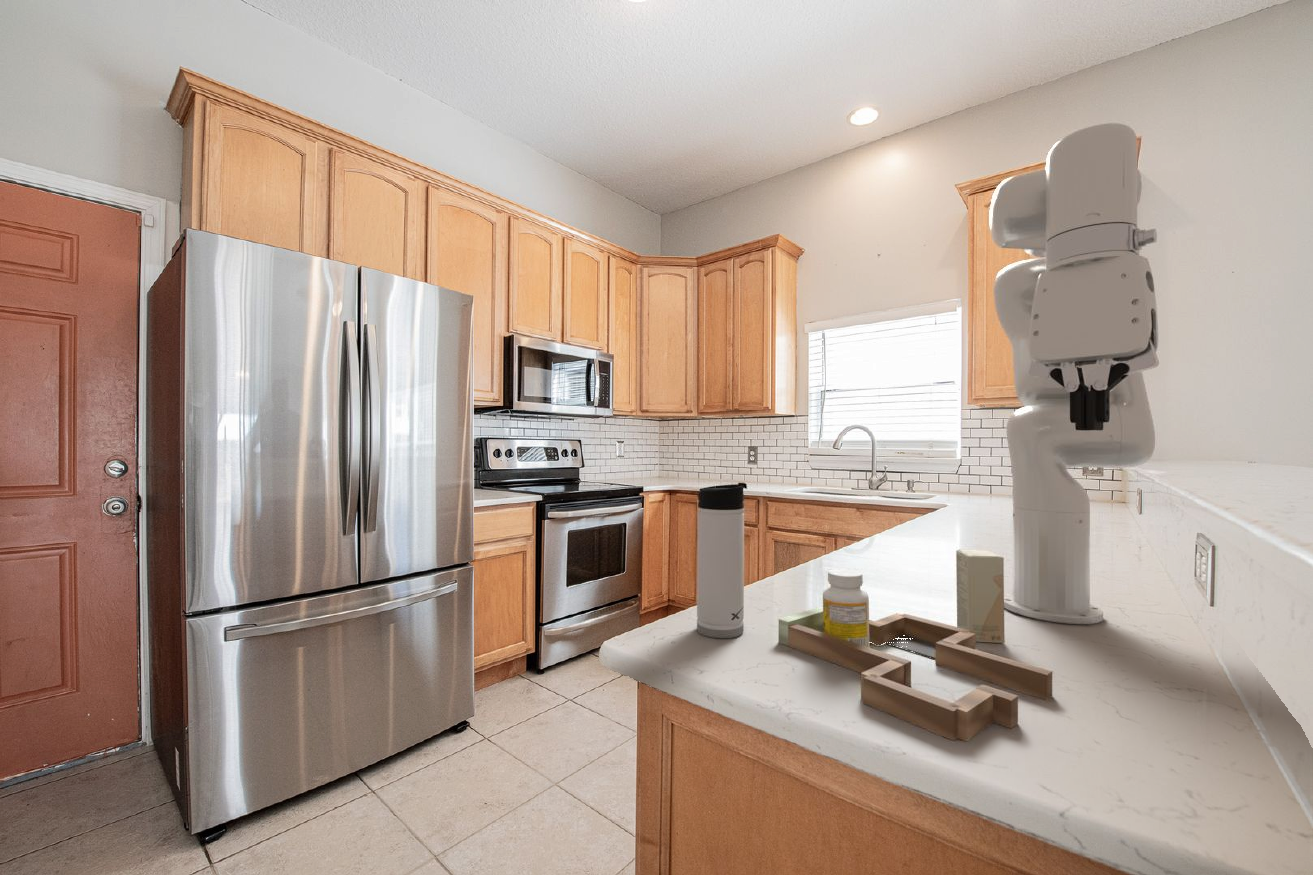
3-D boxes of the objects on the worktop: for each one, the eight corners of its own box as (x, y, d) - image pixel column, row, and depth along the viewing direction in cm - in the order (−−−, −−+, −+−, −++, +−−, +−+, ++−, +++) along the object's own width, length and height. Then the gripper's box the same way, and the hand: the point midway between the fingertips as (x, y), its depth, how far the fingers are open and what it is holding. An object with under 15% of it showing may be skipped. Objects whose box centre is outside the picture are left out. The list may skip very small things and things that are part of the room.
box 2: (1005, 644, 70) (1005, 557, 71) (968, 641, 71) (968, 555, 71) (989, 630, 76) (989, 549, 76) (955, 628, 76) (955, 548, 77)
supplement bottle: (862, 663, 64) (860, 579, 64) (817, 653, 67) (815, 574, 67) (875, 648, 68) (873, 570, 68) (832, 639, 72) (830, 565, 72)
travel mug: (749, 639, 72) (750, 484, 72) (698, 638, 72) (699, 484, 72) (742, 623, 78) (743, 481, 78) (695, 623, 78) (696, 481, 78)
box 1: (853, 617, 81) (853, 596, 81) (1072, 679, 60) (1072, 652, 60) (744, 653, 67) (744, 628, 67) (981, 752, 46) (981, 715, 46)
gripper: (1195, 242, 54) (1195, 430, 54) (1022, 277, 66) (1022, 431, 66) (1179, 224, 50) (1179, 428, 50) (996, 265, 61) (995, 430, 61)
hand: (1089, 429), depth 58 cm, fingers closed
